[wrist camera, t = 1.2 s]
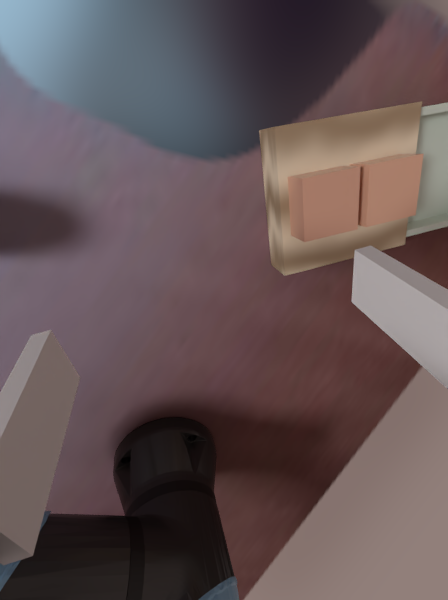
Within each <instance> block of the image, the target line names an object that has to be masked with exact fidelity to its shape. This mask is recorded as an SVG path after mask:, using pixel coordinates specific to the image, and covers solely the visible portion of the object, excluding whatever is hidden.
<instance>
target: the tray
mask: <svg viewBox="0 0 448 600" xmlns="http://www.w3.org/2000/svg"><path fill="white" fill-rule="evenodd" d="M416 154H424V155H423V163H422V170H421V178H420V186H419V193H418V201H417V209H416V215H414V216H410V217H408V224H407V232H406V237H408V236H412V235H416V234H420V233H424V232H428V231H431V230H435V229H439V228H443V227H447V226H448V103H443V104H437V105H431V106H426V107H421V116H420V124H419V132H418V141H417V149H416Z"/></svg>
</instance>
